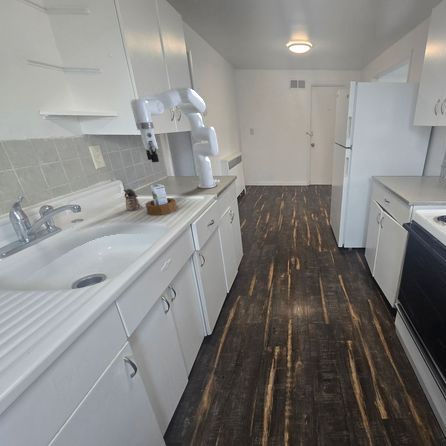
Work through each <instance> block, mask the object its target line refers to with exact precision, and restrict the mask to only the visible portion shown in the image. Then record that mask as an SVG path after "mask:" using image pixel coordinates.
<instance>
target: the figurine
mask: <svg viewBox="0 0 446 446" xmlns="http://www.w3.org/2000/svg"><path fill="white" fill-rule="evenodd" d="M123 192H124V198H125V207H126V210H127V211H129V212H134V211H139V210H141V208H142V205H141V204H140V202H139V199H138V195H137V194H136V192H135V190H133V189H132V188H127V189H123Z"/></svg>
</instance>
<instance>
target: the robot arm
mask: <svg viewBox="0 0 446 446" xmlns="http://www.w3.org/2000/svg"><path fill="white" fill-rule="evenodd" d="M130 106H131V109H132V110H131V111H132V115H133V119H134V122H135V126H136V130H137V131H139V133H140V137H141V141H142V144H143V147H144V149H145V151H146V157H147V160H148V161H151V163H159V162H160V159H159V156H158V155H159V154H158V152H157V150H158V149H159V146H158V143H157V139H156V136H155V135H156V134H155V132H154V130H155V127H154V122H153V118H152V116H160V115H162V114H163V113H164V111H165V110H169V109H173V108H175V107H178V108H179V111H180V112H181V113H183V114H184V115H185V116H186V117H187V119H188V122H189V126H190V131H191V135H192V136H191V137H192V138H193V140H195V141H199V142H196V143H194V144H193V146H192V151H193V154H194V157H195V161H196V167H197V172H198V173H197V174H198V179H199V184H198V188H199V189H211V188H215V187H216V186H217V183H221V181H220V179H214V176H213V169H212V162H211V160H210V159H209V158H210V157H211V158H212V157H213V158H214V157H217V156H218V155H219V153H220V152H219V151H220V150H219V149H220V148H219V143H218V137H217V133H216V130H215V128H214V127H213V126H209V125H204V121H203V118H202V115H201V114H203V113H205V111H206V108H207V107H206V103H205V101H204V100H203V98H201V96H200V95H199V94H198V93H197V92H196V91H195V90H193V89H192V88H190V87H174V88H170V89H168V90H164V91H163V92H158V93H154V94H151V95H147V96H146V95H145V96H143V97H140V98H136V99H135V98H133V99H131V100H130Z"/></svg>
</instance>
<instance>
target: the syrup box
mask: <svg viewBox="0 0 446 446" xmlns="http://www.w3.org/2000/svg"><path fill="white" fill-rule="evenodd" d="M149 186H150V191H151V196H152V200H154V205H163V204H167V203H168V201H167V198H168V197H167V193H166V188H165V185H163V184H162V183H156V184H152V185H151V184H150V185H149Z"/></svg>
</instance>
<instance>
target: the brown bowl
mask: <svg viewBox="0 0 446 446" xmlns="http://www.w3.org/2000/svg"><path fill="white" fill-rule="evenodd" d="M167 201H168V203H167V204H163V205H154V200H153V199H152V200H148V201H147V202H146V203H145V204H144V205H145V208H146V211H147V214H148V215H150V216H164V215H168V214H171V213H173V212H176V211H177V210H178V206H177V202H176V199H175V198H171V197H167Z"/></svg>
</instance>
